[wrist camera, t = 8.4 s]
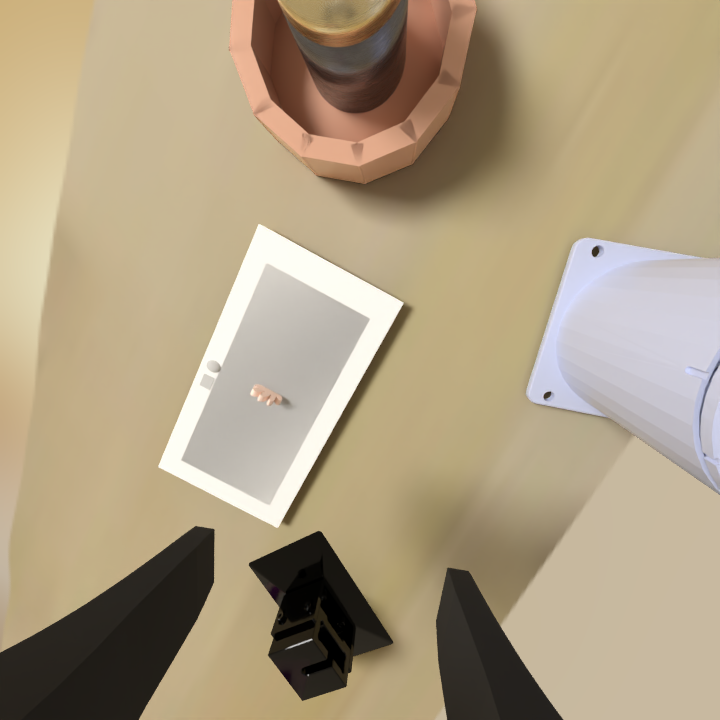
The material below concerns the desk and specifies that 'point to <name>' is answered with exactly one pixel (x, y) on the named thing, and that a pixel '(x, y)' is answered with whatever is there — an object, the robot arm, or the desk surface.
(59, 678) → the robot arm
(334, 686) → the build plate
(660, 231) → the desk surface
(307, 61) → the battery
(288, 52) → the peach round shallow bowl
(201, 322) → the desk surface
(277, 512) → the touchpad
